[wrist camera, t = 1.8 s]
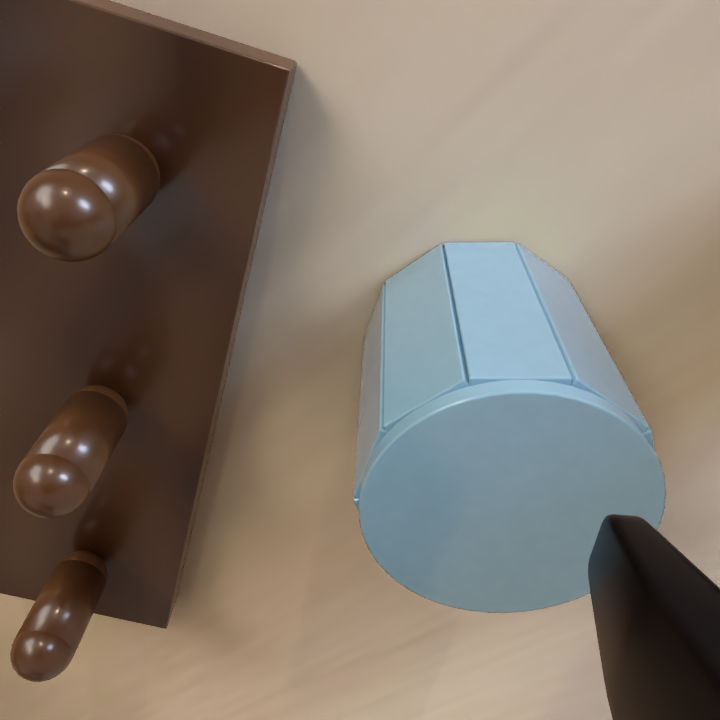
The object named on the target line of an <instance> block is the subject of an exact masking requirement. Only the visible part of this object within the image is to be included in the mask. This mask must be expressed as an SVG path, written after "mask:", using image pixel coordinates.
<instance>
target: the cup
mask: <svg viewBox="0 0 720 720" xmlns="http://www.w3.org/2000/svg"><path fill="white" fill-rule="evenodd" d="M353 496H354V503H355V505H356V507H357V509H358V511H359V522H360V526H361V530H362V535H363V537H364V539H365V542H366V544H367V546H368V549H369V550H370V552H371V553H372V555H373V556H374V558H375V560H376V561H377V562H378V563H379V565H380V566H381V567H382V568H383V569H384V570H385V571H386V572H387V573H388V574H389V575H390V576H391V577H392V578H394V579H395V580H396V581H397V582H398V583H400V584H401V585H403V586H404V587H406V588H407V589H409V590H410V591H412V592H414V593H416V594H418V595H420V596H422V597H424V598H427V599H429V600H432V601H434V602H437V603H440V604H443V605H447V606H450V607H454V608H458V609H464V610H469V611H477V612H488V613H511V612H525V611H531V610H537V609H543V608H547V607H551V606H556V605H560V604H563V603H566V602H569V601H571V600H574V599H577V598H580V597H582V596H584V595H586V594H589V593H591V592H590V586H589V580H588V562H589V558H590V555H591V552H592V549H593V546H594V543H595V541H596V538H597V535H598V532H599V529H600V527H601V524H602V522H603V520H604V518H605V517H606V516H607V515H610V514H619V515H632V516H639V517H641V518H643V519H644V520H646V521H647V522H648V523H649V524H650V525H651V526H652V527H654V528H655V529H656V530H657V529H658V527H659V525H660V523H661V519H662V516H663V512H664V508H665V498H666V486H665V477H664V473H663V470H662V466H661V463H660V461H659V459H658V457H657V455H656V453H655V447H654V440H653V434H652V430H651V428H650V427H649V425H648V423H647V421H646V419H645V418H644V416H643V414H642V412H641V410H640V408H639V407H638V405H637V403H636V401H635V399H634V398H633V396H632V394H631V392H630V390H629V389H628V387H627V385H626V383H625V381H624V379H623V378H622V376H621V374H620V372H619V370H618V369H617V367H616V365H615V363H614V361H613V360H612V358H611V356H610V354H609V352H608V350H607V349H606V347H605V345H604V343H603V341H602V340H601V338H600V336H599V334H598V332H597V330H596V329H595V327H594V325H593V323H592V321H591V320H590V318H589V316H588V314H587V312H586V311H585V309H584V307H583V305H582V303H581V301H580V300H579V298H578V296H577V294H576V292H575V291H574V289H573V287H572V285H571V284H570V282H569V281H568V279H567V278H565V277H564V276H563V275H561V274H560V273H558V272H557V271H556V270H554V269H553V268H551V267H550V266H549V265H547V264H546V263H545V262H543V261H542V260H540V259H539V258H538V257H536V256H535V255H533V254H532V253H531V252H529V251H528V250H527V249H525V248H524V247H522V246H521V245H520V244H516V245H515V244H514V242H458V243H444V247H443V246H442V245H441V244H440V245H438V246H437V247H435V248H434V249H432V250H431V251H429V252H428V253H426V254H425V255H423V256H422V257H420V258H419V259H417V260H416V261H414V262H413V263H411V264H410V265H408V266H407V267H405V268H404V269H402V270H401V271H399V272H398V273H396V274H395V275H393V276H392V277H390V278H389V279H388V280H386V281H385V284H383V285H382V288H381V291H380V294H379V296H378V299H377V302H376V305H375V308H374V311H373V314H372V317H371V319H370V322H369V325H368V328H367V331H366V334H365V337H364V347H363V362H362V376H361V390H360V405H359V419H358V433H357V448H356V462H355V476H354V491H353Z"/></svg>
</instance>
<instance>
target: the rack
mask: <svg viewBox="0 0 720 720" xmlns="http://www.w3.org/2000/svg"><path fill="white" fill-rule="evenodd" d="M296 65H297V63H296V61H294V60H291V59H288V58H285V57H281V56H278V55H275V54H272V53H269V52H266V51H263V50H260V49H257V48H254V47H251V46H248V45H245V44H242V43H238V42H235V41H232V40H229V39H226V38H223V37H220V36H217V35H214V34H211V33H208V32H205V31H202V30H199V29H196V28H192V27H189V26H186V25H183V24H180V23H177V22H174V21H171V20H168V19H165V18H162V17H159V16H156V15H153V14H149V13H146V12H143V11H140V10H137V9H134V8H131V7H128V6H125V5H122V4H119V3H116V2H113V1H110V0H0V593H3V594H7V595H12V596H16V597H21V598H26V599H30V600H35V603H34V605H33V607H32V609H31V610H30V612H29V614H28V616H27V618H26V619H25V621H24V623H23V625H22V627H21V628H20V630H19V632H18V634H17V636H16V638H15V640H14V642H13V644H12V648H11V653H10V655H11V663H12V666H13V668H14V670H15V671H16V673H17V674H18V675H19V676H20V677H22V678H24V679H26V680H28V681H33V682H42V681H46V680H50V679H52V678H54V677H56V676H58V675H59V674H60V673H61V672H63V671H64V670H65V669H66V667H67V666H68V665H69V664H70V662H71V660H72V658H73V656H74V654H75V652H76V649H77V647H78V645H79V643H80V641H81V638H82V636H83V634H84V632H85V630H86V627H87V625H88V623H89V621H90V619H91V616H92V614H93V613H95V614H100V615H105V616H109V617H114V618H119V619H123V620H128V621H132V622H137V623H142V624H146V625H151V626H156V627H160V628H165V629H166V628H167V626H168V623H169V620H170V617H171V614H172V611H173V608H174V605H175V602H176V599H177V594H178V590H179V585H180V581H181V577H182V572H183V568H184V563H185V559H186V554H187V550H188V545H189V541H190V537H191V532H192V528H193V523H194V519H195V514H196V510H197V505H198V501H199V496H200V492H201V488H202V483H203V479H204V474H205V470H206V465H207V461H208V456H209V452H210V447H211V443H212V439H213V434H214V430H215V425H216V421H217V416H218V412H219V407H220V403H221V398H222V394H223V390H224V385H225V381H226V376H227V372H228V367H229V363H230V358H231V354H232V350H233V345H234V341H235V336H236V332H237V327H238V323H239V318H240V314H241V309H242V305H243V301H244V296H245V292H246V287H247V283H248V278H249V274H250V269H251V265H252V260H253V256H254V252H255V247H256V243H257V238H258V234H259V229H260V225H261V220H262V216H263V211H264V207H265V203H266V198H267V194H268V189H269V185H270V180H271V176H272V171H273V167H274V163H275V158H276V154H277V149H278V145H279V140H280V136H281V131H282V127H283V122H284V118H285V114H286V109H287V105H288V100H289V96H290V91H291V87H292V82H293V78H294V73H295V69H296Z"/></svg>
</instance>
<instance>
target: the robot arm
mask: <svg viewBox="0 0 720 720" xmlns="http://www.w3.org/2000/svg"><path fill="white" fill-rule="evenodd" d="M588 580H589V586H590V592H591V599H592V605H593V611H594V618H595V624H596V631H597V637H598V643H599V650H600V656H601V662H602V669H603V675H604V681H605V686H606V692H607V698H608V702H609V706H610V710H611V714H612V718H613V720H720V588H719V587H718V586H717V585H716V584H714V583H713V582H712V581H711V580H710V579H709V578H708V577H707V576H706V575H705V574H704V573H702V572H701V571H700V570H699V569H698V568H697V567H696V566H695V565H694V564H693V563H692V562H691V561H689V560H688V559H687V558H686V557H685V556H684V555H683V554H682V553H681V552H680V551H679V550H677V549H676V548H675V547H674V546H673V545H672V544H671V543H670V542H669V541H668V540H667V539H666V538H664V537H663V536H662V535H661V534H660V533H659V532H658V531H657V530H656V529H655V528H654V527H652V526H651V525H650V524H649V523H648V522H647V521H646V520H644V519H643V518H641V517H639V516H632V515H619V514H610V515H607V516H606V517H605V518H604V520H603V522H602V524H601V527H600V529H599V532H598V535H597V538H596V541H595V543H594V546H593V549H592V552H591V555H590V558H589V562H588Z"/></svg>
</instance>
